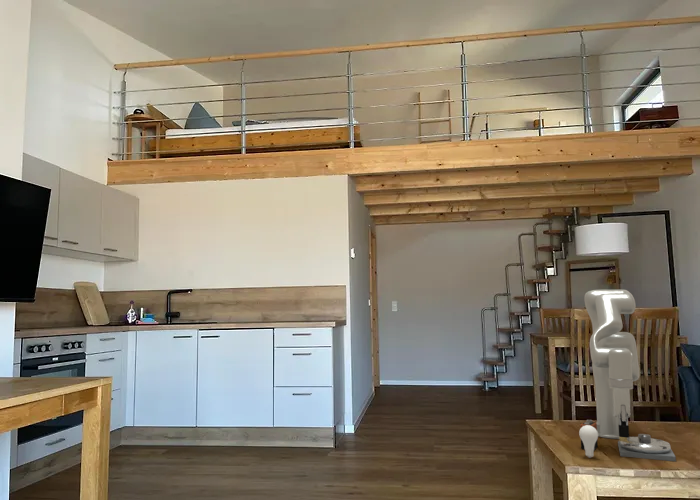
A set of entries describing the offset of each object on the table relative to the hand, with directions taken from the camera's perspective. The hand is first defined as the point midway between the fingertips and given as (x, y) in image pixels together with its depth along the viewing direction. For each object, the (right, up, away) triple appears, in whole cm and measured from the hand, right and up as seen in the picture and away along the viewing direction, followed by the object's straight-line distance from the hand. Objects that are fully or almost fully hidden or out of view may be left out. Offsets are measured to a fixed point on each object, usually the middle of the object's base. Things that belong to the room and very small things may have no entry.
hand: (624, 436), depth 194 cm
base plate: (+9, -7, +3) cm, 12 cm away
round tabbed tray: (+9, -5, +3) cm, 11 cm away
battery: (-8, -8, +9) cm, 15 cm away
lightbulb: (-14, -6, -3) cm, 16 cm away
